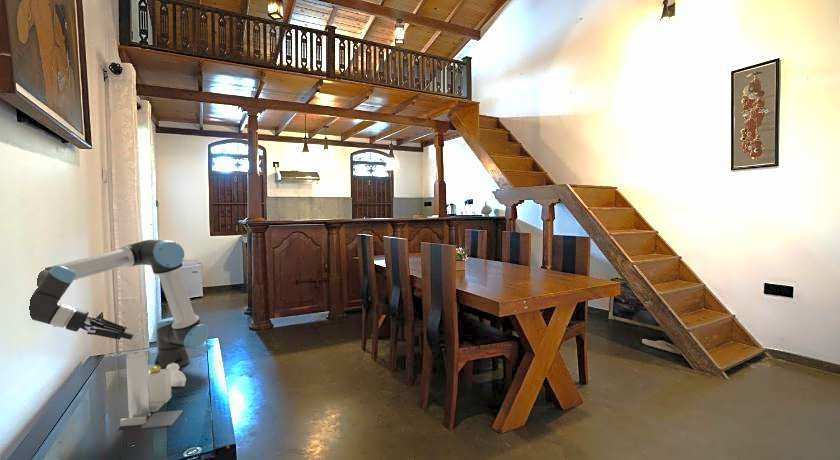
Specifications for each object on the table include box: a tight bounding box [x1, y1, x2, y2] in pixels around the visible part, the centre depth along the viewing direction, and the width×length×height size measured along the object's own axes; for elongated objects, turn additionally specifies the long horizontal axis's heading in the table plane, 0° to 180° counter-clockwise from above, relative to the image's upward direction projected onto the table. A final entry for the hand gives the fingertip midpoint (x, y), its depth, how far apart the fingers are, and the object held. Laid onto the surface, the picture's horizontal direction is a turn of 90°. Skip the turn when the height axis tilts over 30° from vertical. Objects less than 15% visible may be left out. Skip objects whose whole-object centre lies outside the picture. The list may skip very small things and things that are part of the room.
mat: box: [140, 409, 184, 430], centre depth 146 cm, size 10×10×1 cm
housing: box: [119, 369, 172, 427], centre depth 152 cm, size 20×9×12 cm, turn 10°
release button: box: [149, 365, 161, 373], centre depth 159 cm, size 4×4×3 cm
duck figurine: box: [166, 363, 187, 388], centre depth 173 cm, size 12×8×11 cm
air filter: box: [125, 349, 152, 420], centre depth 146 cm, size 6×6×25 cm
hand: (141, 339), depth 154 cm, fingers closed
